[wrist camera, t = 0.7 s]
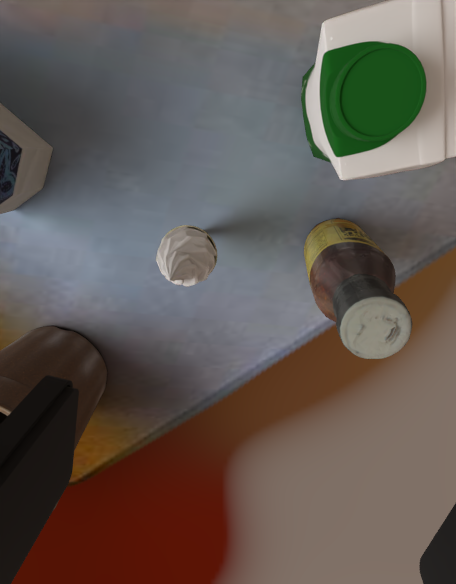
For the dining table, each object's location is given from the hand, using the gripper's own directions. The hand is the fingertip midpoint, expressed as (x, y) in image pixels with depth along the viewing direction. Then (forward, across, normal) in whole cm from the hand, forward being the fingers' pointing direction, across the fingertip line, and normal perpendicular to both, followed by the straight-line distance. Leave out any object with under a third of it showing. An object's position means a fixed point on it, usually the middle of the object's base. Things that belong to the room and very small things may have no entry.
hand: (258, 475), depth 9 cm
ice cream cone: (+33, +6, +4) cm, 34 cm away
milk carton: (+33, -5, -11) cm, 35 cm away
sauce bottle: (+33, -7, +2) cm, 34 cm away
